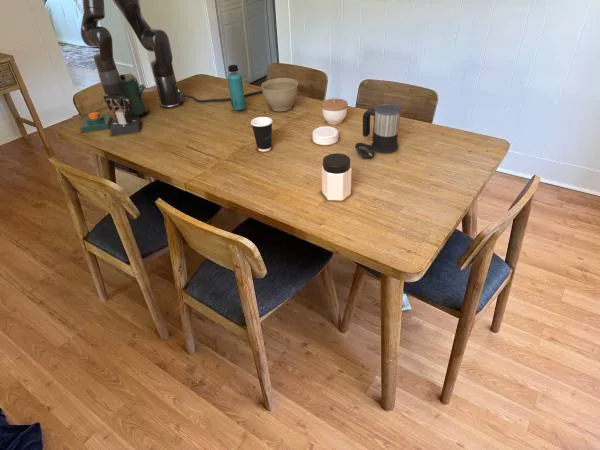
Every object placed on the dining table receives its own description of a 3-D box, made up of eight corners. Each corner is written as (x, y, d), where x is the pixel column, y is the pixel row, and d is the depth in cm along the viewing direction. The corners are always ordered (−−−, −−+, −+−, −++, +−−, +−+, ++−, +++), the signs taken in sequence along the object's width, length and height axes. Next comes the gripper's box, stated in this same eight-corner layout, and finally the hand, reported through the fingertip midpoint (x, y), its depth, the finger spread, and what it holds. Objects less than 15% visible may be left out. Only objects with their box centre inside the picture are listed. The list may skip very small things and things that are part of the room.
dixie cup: (255, 144, 158) (251, 117, 152) (275, 143, 158) (273, 116, 151) (253, 154, 152) (249, 126, 145) (274, 153, 152) (271, 125, 145)
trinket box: (343, 127, 166) (344, 105, 160) (318, 125, 169) (318, 103, 163) (349, 117, 174) (350, 95, 168) (325, 115, 177) (325, 93, 171)
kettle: (158, 109, 192) (148, 70, 181) (145, 120, 182) (133, 79, 171) (123, 108, 195) (111, 69, 184) (109, 119, 185) (94, 79, 174)
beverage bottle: (247, 107, 188) (242, 62, 176) (245, 113, 183) (238, 67, 171) (234, 108, 189) (227, 63, 177) (230, 113, 184) (223, 68, 171)
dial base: (140, 122, 181) (138, 115, 179) (139, 131, 173) (137, 124, 171) (114, 126, 179) (112, 119, 177) (112, 135, 171) (109, 128, 169)
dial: (130, 119, 176) (127, 107, 173) (130, 123, 173) (126, 111, 169) (119, 120, 176) (115, 109, 172) (118, 125, 172) (114, 113, 169)
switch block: (111, 119, 185) (108, 111, 183) (109, 128, 177) (106, 119, 175) (86, 123, 183) (82, 114, 181) (82, 132, 176) (79, 123, 173)
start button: (100, 115, 180) (98, 111, 179) (98, 118, 177) (97, 115, 176) (90, 116, 179) (88, 112, 178) (89, 120, 176) (87, 116, 175)
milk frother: (399, 143, 153) (403, 104, 144) (392, 163, 142) (396, 122, 133) (361, 139, 157) (363, 101, 148) (352, 158, 146) (353, 119, 137)
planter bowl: (278, 99, 195) (276, 75, 189) (306, 105, 187) (305, 81, 181) (256, 110, 185) (253, 86, 178) (284, 117, 177) (282, 92, 171)
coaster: (342, 136, 160) (342, 127, 158) (332, 147, 153) (332, 138, 151) (318, 132, 164) (318, 124, 162) (308, 143, 157) (308, 134, 155)
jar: (334, 183, 133) (334, 149, 126) (355, 191, 129) (356, 157, 122) (317, 195, 128) (316, 161, 121) (338, 204, 124) (338, 169, 116)
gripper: (130, 80, 163) (142, 120, 173) (106, 75, 169) (119, 115, 179) (115, 86, 158) (128, 127, 168) (91, 81, 164) (105, 121, 174)
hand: (124, 120), depth 174 cm, fingers open, 5 cm apart
